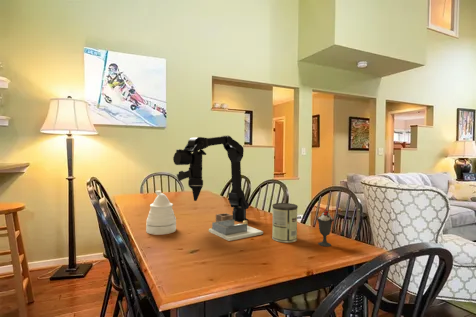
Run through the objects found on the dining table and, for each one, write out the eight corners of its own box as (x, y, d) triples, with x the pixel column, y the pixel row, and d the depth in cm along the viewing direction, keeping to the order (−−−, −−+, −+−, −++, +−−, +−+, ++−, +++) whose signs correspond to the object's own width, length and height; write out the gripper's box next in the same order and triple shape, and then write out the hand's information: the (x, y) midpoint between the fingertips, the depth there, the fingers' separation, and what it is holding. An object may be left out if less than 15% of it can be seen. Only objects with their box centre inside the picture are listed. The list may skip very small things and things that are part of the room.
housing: (232, 225, 130) (233, 219, 130) (247, 231, 121) (247, 224, 121) (212, 229, 123) (212, 222, 123) (225, 235, 114) (225, 228, 114)
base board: (241, 226, 134) (241, 217, 134) (262, 234, 122) (263, 224, 121) (208, 231, 124) (208, 222, 124) (228, 241, 111) (229, 230, 111)
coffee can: (276, 234, 122) (276, 202, 122) (299, 237, 118) (300, 204, 117) (268, 240, 113) (269, 205, 112) (293, 244, 108) (294, 208, 108)
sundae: (324, 248, 104) (325, 208, 104) (312, 243, 110) (313, 205, 110) (337, 246, 107) (338, 207, 107) (324, 241, 113) (325, 204, 113)
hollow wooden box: (225, 222, 140) (225, 213, 140) (232, 225, 135) (232, 215, 135) (215, 224, 136) (215, 214, 136) (222, 227, 132) (222, 216, 132)
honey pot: (160, 236, 116) (160, 193, 115) (139, 231, 122) (140, 190, 122) (181, 229, 127) (182, 190, 126) (162, 225, 133) (162, 188, 133)
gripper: (178, 163, 134) (178, 196, 134) (176, 165, 116) (175, 202, 116) (202, 164, 136) (201, 196, 136) (203, 165, 117) (202, 202, 118)
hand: (195, 199), depth 126 cm, fingers open, 9 cm apart
